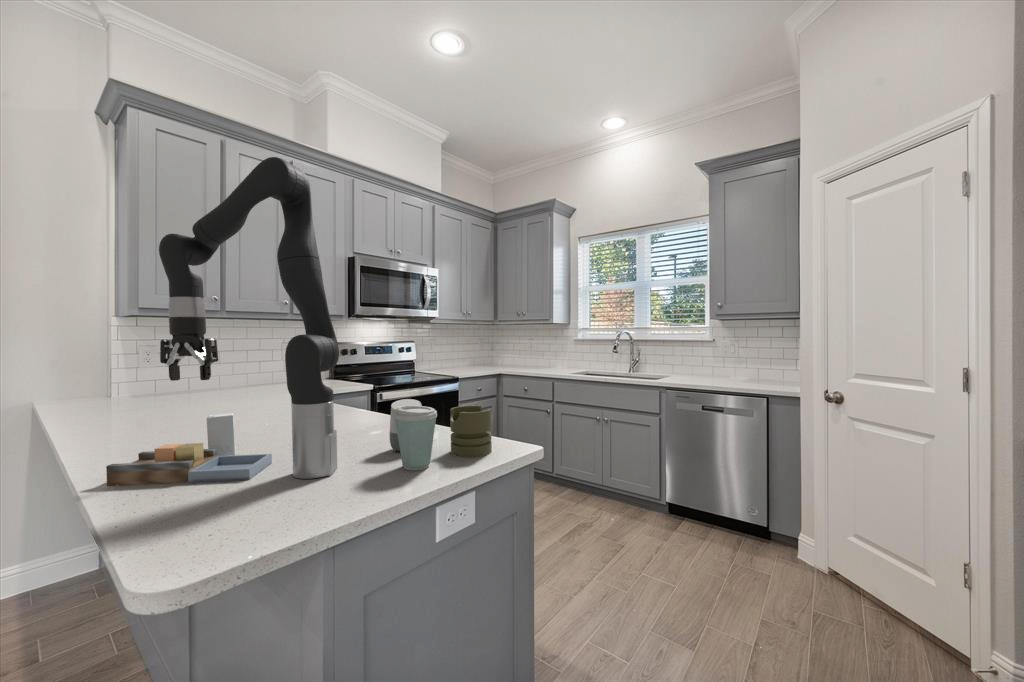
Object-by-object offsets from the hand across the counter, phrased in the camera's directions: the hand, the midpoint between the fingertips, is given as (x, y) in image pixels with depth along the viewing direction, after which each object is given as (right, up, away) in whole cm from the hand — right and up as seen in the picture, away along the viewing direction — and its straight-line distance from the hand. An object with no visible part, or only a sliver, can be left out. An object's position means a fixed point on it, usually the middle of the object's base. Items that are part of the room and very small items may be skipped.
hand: (190, 380), depth 114 cm
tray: (+14, -22, -4) cm, 26 cm away
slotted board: (-1, -22, -6) cm, 23 cm away
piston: (+70, -21, +12) cm, 74 cm away
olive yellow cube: (+4, -19, -6) cm, 20 cm away
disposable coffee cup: (+58, -22, -2) cm, 62 cm away
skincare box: (+4, -22, +6) cm, 23 cm away
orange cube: (0, -19, -6) cm, 20 cm away
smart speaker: (+51, -21, +15) cm, 57 cm away
